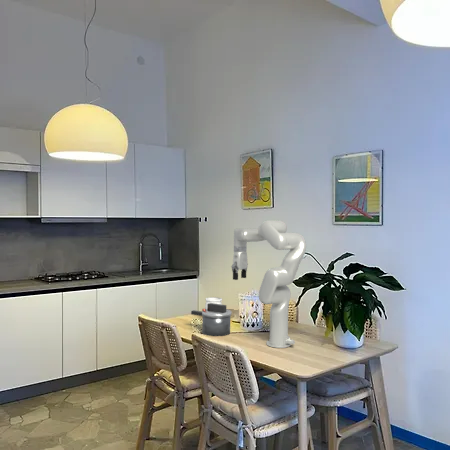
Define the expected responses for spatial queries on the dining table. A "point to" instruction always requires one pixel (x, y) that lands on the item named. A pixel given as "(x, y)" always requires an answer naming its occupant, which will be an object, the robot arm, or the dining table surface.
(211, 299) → the jar
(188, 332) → the dining table surface
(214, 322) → the grey saucepan
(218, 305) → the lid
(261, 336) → the dining table surface
